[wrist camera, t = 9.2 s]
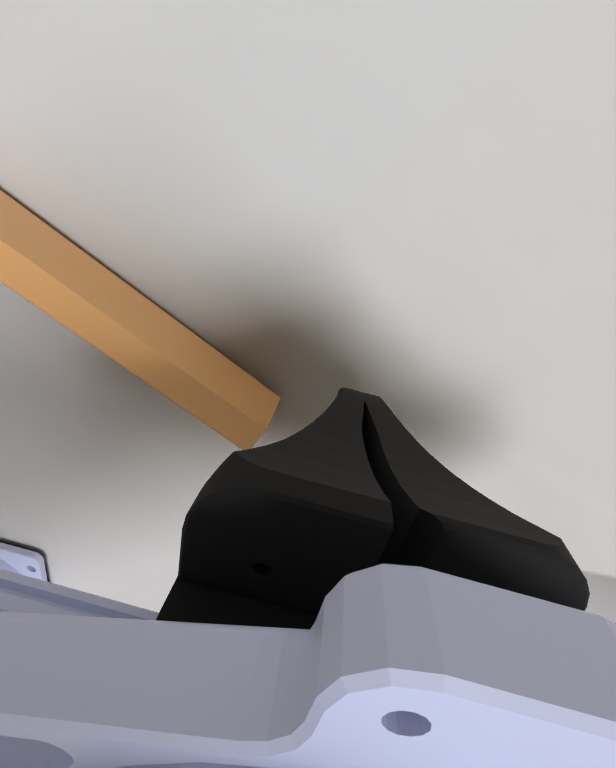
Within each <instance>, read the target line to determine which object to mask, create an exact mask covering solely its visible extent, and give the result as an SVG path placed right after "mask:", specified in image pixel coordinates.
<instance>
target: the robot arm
mask: <svg viewBox="0 0 616 768" xmlns="http://www.w3.org/2000/svg"><path fill="white" fill-rule="evenodd" d="M589 595H590V593H589V588H588V584H587V580H586V578H585V577H584V575H583V573H582V572H581V570H580V568H579V567H578V565H577V564H576V562H575V560H574V559H573V557H572V556H571V554H570V552H569V551H568V549H567V548H566V546H565V544H564V543H563V541H562V540H561V538H559V537H557V536H555V535H553V534H551V533H549V532H547V531H546V530H544V529H542V528H540V527H538V526H536V525H534V524H532V523H530V522H528V521H526V520H524V519H523V518H521V517H519V516H517V515H515V514H513V513H511V512H510V511H508V510H506V509H505V508H503V507H501V506H500V505H498V504H497V503H495V502H493V501H492V500H490V499H488V498H487V497H485V496H484V495H482V494H481V493H479V492H478V491H476V490H475V489H473V488H472V487H470V486H469V485H468V484H466V483H465V482H464V481H462V480H461V479H459V478H458V477H457V476H455V475H454V474H453V473H451V472H450V471H449V470H448V469H446V468H445V467H444V466H443V465H442V464H441V463H439V462H438V461H437V460H436V459H435V458H434V457H433V456H431V455H430V454H429V453H428V452H427V451H426V450H425V449H424V448H423V447H422V446H421V445H420V444H419V443H418V442H417V441H416V440H415V438H414V437H413V436H412V435H411V434H410V433H409V432H408V431H407V430H406V428H405V427H404V426H403V425H402V424H401V422H400V421H399V420H398V419H397V418H396V416H395V415H394V414H393V412H392V411H391V410H390V409H389V407H388V406H387V405H386V404H385V402H384V401H383V400H382V399H381V398H380V397H378V396H374V395H370V394H366V393H363V392H359V391H355V390H351V389H347V388H341V389H339V391H338V395H337V397H336V399H335V400H334V401H333V403H332V404H331V405H330V406H329V407H328V409H327V410H326V411H325V412H324V413H323V414H322V415H320V416H319V417H318V418H317V419H316V420H315V421H314V422H312V423H311V424H310V425H308V426H307V427H305V428H304V429H302V430H301V431H299V432H297V433H296V434H294V435H292V436H290V437H288V438H286V439H284V440H281V441H279V442H276V443H273V444H269V445H266V446H262V447H257V448H252V449H247V450H242V451H235V452H233V453H232V454H231V455H230V456H229V457H228V458H227V459H226V460H225V461H224V462H223V463H222V464H221V465H220V466H219V468H218V469H217V470H216V471H215V472H214V474H213V475H212V476H211V477H210V478H209V480H208V481H207V482H206V484H205V485H204V486H203V488H202V489H201V491H200V492H199V494H198V496H197V497H196V499H195V501H194V503H193V504H192V506H191V508H190V510H189V511H188V513H187V515H186V518H185V521H184V525H183V528H182V538H181V549H180V560H179V571H178V577H177V579H176V581H175V583H174V585H173V587H172V589H171V591H170V593H169V595H168V597H167V599H166V601H165V602H164V604H163V606H162V608H161V610H160V612H159V613H158V612H154V611H150V610H147V609H143V608H140V607H136V606H132V605H129V604H125V603H122V602H118V601H114V600H111V599H107V598H104V597H100V596H97V595H93V594H89V593H86V592H82V591H79V590H75V589H71V588H68V587H64V586H61V585H57V584H53V583H50V582H48V581H47V576H46V570H45V564H44V559H43V557H42V556H41V555H40V554H39V553H37V552H34V551H30V550H27V549H23V548H19V547H16V546H12V545H9V544H5V543H1V542H0V768H616V623H614V622H612V621H610V620H608V619H606V618H604V617H602V616H599V615H596V614H593V613H589V612H586V611H585V609H586V607H587V603H588V599H589Z"/></svg>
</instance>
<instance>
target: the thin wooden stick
mask: <svg viewBox="0 0 616 768" xmlns="http://www.w3.org/2000/svg"><path fill="white" fill-rule="evenodd" d="M0 281H1V282H2V283H3V284H5V285H6V286H8V287H9V288H11V289H12V290H14V291H15V292H16V293H18V294H19V295H21V296H22V297H24V298H25V299H26V300H28V301H29V302H31V303H32V304H34V305H35V306H37V307H38V308H39V309H41V310H42V311H44V312H45V313H47V314H48V315H49V316H51V317H52V318H54V319H55V320H57V321H58V322H60V323H61V324H62V325H64V326H65V327H67V328H68V329H70V330H71V331H73V332H74V333H75V334H77V335H78V336H80V337H81V338H83V339H84V340H85V341H87V342H88V343H90V344H91V345H93V346H94V347H96V348H97V349H98V350H100V351H101V352H103V353H104V354H106V355H107V356H108V357H110V358H111V359H113V360H114V361H116V362H117V363H119V364H120V365H121V366H123V367H124V368H126V369H127V370H129V371H130V372H132V373H133V374H134V375H136V376H137V377H139V378H140V379H142V380H143V381H144V382H146V383H147V384H149V385H150V386H152V387H153V388H155V389H156V390H157V391H159V392H160V393H162V394H163V395H165V396H166V397H167V398H169V399H170V400H172V401H173V402H175V403H176V404H178V405H179V406H180V407H182V408H183V409H185V410H186V411H188V412H189V413H190V414H192V415H193V416H195V417H196V418H198V419H199V420H201V421H202V422H203V423H205V424H206V425H208V426H209V427H211V428H212V429H214V430H215V431H216V432H218V433H219V434H221V435H222V436H224V437H225V438H226V439H228V440H229V441H231V442H232V443H234V444H235V445H237V446H238V447H239V448H241V449H242V450H247V449H250V448H251V447H252V446H253V445H254V444H255V443H256V442H257V441H258V439H259V438H260V437H261V436H262V435H263V434H264V433H265V432H266V430H267V428H268V426H269V424H270V421H271V419H272V417H273V415H274V412H275V410H276V408H277V405H278V403H279V401H280V399H281V398H280V397H279V396H278V395H276V394H275V393H274V392H272V391H271V390H270V389H268V388H267V387H265V386H264V385H263V384H261V383H260V382H259V381H257V380H256V379H255V378H253V377H252V376H251V375H249V374H248V373H247V372H245V371H244V370H243V369H241V368H240V367H239V366H237V365H236V364H234V363H233V362H232V361H230V360H229V359H228V358H226V357H225V356H224V355H222V354H221V353H220V352H218V351H217V350H216V349H214V348H213V347H212V346H210V345H209V344H208V343H206V342H205V341H203V340H202V339H201V338H199V337H198V336H197V335H195V334H194V333H193V332H191V331H190V330H189V329H187V328H186V327H185V326H183V325H182V324H181V323H179V322H178V321H176V320H175V319H174V318H172V317H171V316H170V315H168V314H167V313H166V312H164V311H163V310H162V309H160V308H159V307H158V306H156V305H155V304H154V303H152V302H151V301H150V300H148V299H147V298H145V297H144V296H143V295H141V294H140V293H139V292H137V291H136V290H135V289H133V288H132V287H131V286H129V285H128V284H127V283H125V282H124V281H123V280H121V279H120V278H119V277H117V276H116V275H114V274H113V273H112V272H110V271H109V270H108V269H106V268H105V267H104V266H102V265H101V264H100V263H98V262H97V261H96V260H94V259H93V258H92V257H90V256H89V255H87V254H86V253H85V252H83V251H82V250H81V249H79V248H78V247H77V246H75V245H74V244H73V243H71V242H70V241H69V240H67V239H66V238H65V237H63V236H62V235H61V234H59V233H58V232H56V231H55V230H54V229H52V228H51V227H50V226H48V225H47V224H46V223H44V222H43V221H42V220H40V219H39V218H38V217H36V216H35V215H34V214H32V213H31V212H30V211H28V210H27V209H25V208H24V207H23V206H21V205H20V204H19V203H17V202H16V201H15V200H13V199H12V198H11V197H9V196H8V195H7V194H5V193H4V192H3V191H1V190H0Z"/></svg>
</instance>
